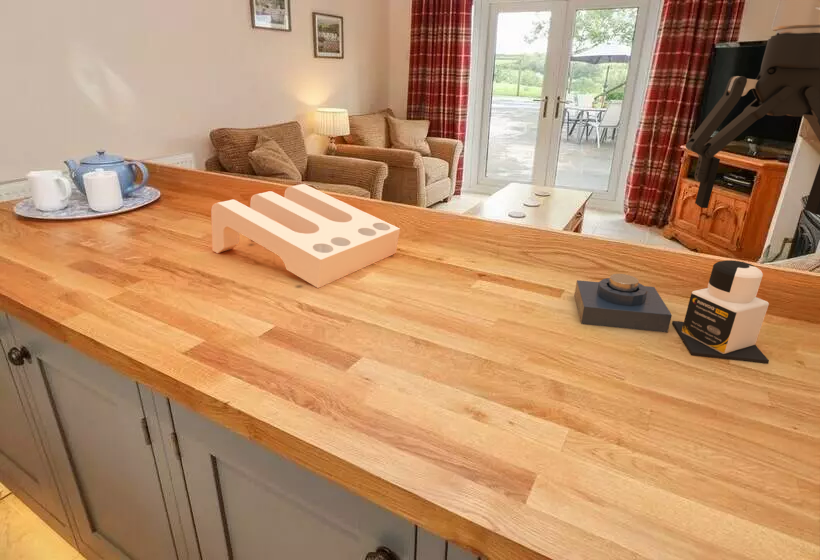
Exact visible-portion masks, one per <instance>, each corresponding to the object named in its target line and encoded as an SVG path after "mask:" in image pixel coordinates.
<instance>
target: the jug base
mask: <svg viewBox="0 0 820 560" xmlns="http://www.w3.org/2000/svg"><path fill="white" fill-rule="evenodd" d="M609 280H610V277H607V278H602V279H601V280H600V281H592V280H591V281H590V280H577V279H576V282H575V287H574V300H575V304H576V309H577V313H578V316H579V320H580V324H581V325H588V326H598V327H606V328H607V327H608V328H617V329H627V330H635V331H636V330H637V331H646V332H655V333H656V332H657V333H665V334H667V333H668V332H669V328H670V325H671V321H672V316H673V314H672V313H671V311H670V309H669V308H668V306H667V305H666V303H665V301H664V300H663V299H662V297H661V295H660V293H659V292H658V291H657V289H656V288H655V286H647V285H643V284H641V283H640V282H639V283H638V288H637V291H636V292H632V293H626V292H619V291H616V290H613V289H611V288H609V287H608V285H609Z"/></svg>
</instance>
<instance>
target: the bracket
mask: <svg viewBox="0 0 820 560" xmlns="http://www.w3.org/2000/svg"><path fill="white" fill-rule="evenodd" d="M249 204H250V205H249V206H247V205H246V204H244V203H242V202H240V201H238V200H237V199H229V200H223V201H219V202H215V203H213V204H212V206H211V210H210V215H211V217H210V218H211V251H213V252H214V253H216V254H220V253H223V252H226V251H229V250H233V249H235V248H236V247H237V246H238V245H239V244H240V235H242V236H243V237H246V238H247V239H249V240H250V241H253V242H254V243H256V244H257V245H259V246H261V247H263V248H264V249H266V250H268V251H270V252H272V253H273V254H275V255H277V256H278V257H279V258H280V259H281V261H282V262H283V264H284V266H285V269H286V270H287V271H288V272H289V273H292V274H293V275H295V276H297V277H298V278H300V279H302V281H305V282H307V283H308V284H310V285H312V286H313V287H315V288H317V289H319V288H322V287H324V286H327V285H328V284H330V283H333V282H335V281H338V280H339V279H342V278H344V277H346V276H348V275H351V274H353V273H355V272H357V271H359V270H361V269H364V268H366V267H369V266H370V265H373V264H375V263H377V262H379V261H381V260H383V259H384V260H385V259H386V258H388V257H390V256H393V255H395V254H396V253H397V250H398V244H399V238H400V232H401V228H400V227H398V226H396V225H394V224H391V223H389V222H387V221H385V220H383V219H380V218H378V217H377V216H374V215H372V214H371V213H368V212H366V211H363V210H361V209H359V208H357V207H355V206H352V205H351V204H349V203H347V202H344V201H342V200H340V199H338V198H336V197H333V196H331V195H329V194H327V193H325V192H323V191H320V190H318V189H316V188H314V187H311V186H310V185H307V184H306V183H301V184H296V185H291V186H288V187H286V188H285V190H284V196H282V195H281V194H278V193H276V192H274V191H272V190H269V191H265V192H259V193H255V194H253V195H252V196H251V197H250V202H249Z"/></svg>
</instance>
